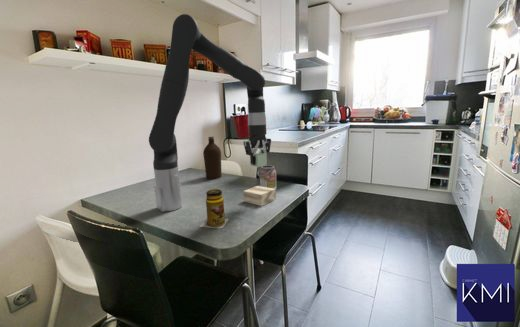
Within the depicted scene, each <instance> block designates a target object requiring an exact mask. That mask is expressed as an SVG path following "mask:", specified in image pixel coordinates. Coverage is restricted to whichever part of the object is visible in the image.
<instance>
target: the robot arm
mask: <svg viewBox="0 0 520 327" xmlns="http://www.w3.org/2000/svg"><path fill="white" fill-rule="evenodd" d="M170 41H171V42H170V47H169V48H170V49H169V53H168V57H167V61H166V64H165V68H164V72H163V77H162V80H161V85H160V90H159V94H158V95H159V97H158V101H157V110H156V115H155V118H154V121H153V125H152V127H151V130H150V133H149V136H148V143H149V146H150V148H151V149H152V150H153V161H152V162H153V163H152V164H153V172H154V180H155V186H154V193H155V204H156V209H157V210H159V211H160V212H162V213H163V212H172V211H175V210H178V209H180V208H182V205H183V204H182V195H181V193H182V192H181V185H180V184H181V183H180V176H179V175H180V174H179V167H178V166H179V164H178V145H177V138H176V137H177V136H176V135H175V128H176V121H177V118H178V115H179V113H180V110H181V109H182V106H183V104H184V101H185V97H186V93H187V91H188V85H189V80H190V78H189V77H190V76H189V75H190V59H191V53H192V51H194V52H196V53H199V54H200V55H202V56H203V57H205V58H206V59H208V60H209V61H210V62H211V63H214V64H215V65H216V66H217V67H218V68H220V69H221V70H223V71H224V72H225V73H226V74H228V75H229V76H231V77H232V78H234V79H235V80H239V81H240V82H241V83H243V84H244V85H245V86H246V93H247V94H246V95H247V114H248V115H247V127H248V128H247V130H248V136H249V139H248V140H247V141H243V146H244V151H245V155H246V156H249V159H250V160H251V164H252V165H256V157H255V155H256V153H257V151H258V150H259V151H260V153H266V154H268V153H270V151H271V144H272V139H271V138H267V137H266V135H267V116H266V102H265V99H264V87H265V85H266V79H265V77H264V75H263V74H262V73H261V72H259V71H258V70H256V69H254V68H253V67H251V66H249V65H248V64H246V63H245V62H244V61H243V60H241V59H240V58H238V57H237V56H236V55H235V54H233V53H232V52H230V51H228V50H226V49H224V48H223V47H221V46H219V45H217V44H215V43H214V42H213V41H211V40H210V39H209V38H208V37H206V36H205V35H204V34H203V33H202V32H201V30H200V27H199V25H198V22H197V20H195V18H194V17H193V16H192V15H190V14H187V13H186V14H185V13H183V14H180V15H178V16H177V17H176V18H175V19H174V21H173V24H172V30H171V40H170ZM250 160H249V161H250Z"/></svg>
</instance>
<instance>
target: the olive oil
mask: <svg viewBox="0 0 520 327" xmlns="http://www.w3.org/2000/svg"><path fill="white" fill-rule="evenodd" d="M202 154H203V159H204V160H203V161H204V168H205V169H204V170H205V178H206V179H207V178H208V179H207V180H217V179H221V178H222V151H221V148H220V147H219V146H218V145H217V144H216V143H215V137H214V136H208V144H207V145H206V146H204V149H203V152H202ZM220 177H221V178H220ZM216 178H217V179H216Z"/></svg>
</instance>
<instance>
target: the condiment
mask: <svg viewBox="0 0 520 327" xmlns="http://www.w3.org/2000/svg"><path fill="white" fill-rule="evenodd" d="M205 193H206V199H205V206H206V218H205V219H204V220H203V222H202V223H201V224H200V225H199V226H198V228H211V229H223V228H224V227H225V226H226V224H227V223H228V220H229V218H225V217H226V216H225V215H226V214H225V204H224V203H225V201H224V198H223V192H222V190H221V189H215V188H214V189H209V190H208V191H206V192H205Z"/></svg>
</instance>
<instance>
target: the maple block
mask: <svg viewBox="0 0 520 327" xmlns="http://www.w3.org/2000/svg"><path fill="white" fill-rule="evenodd" d="M276 193H277V188H276V189H273V188H268V187H263V186H260V185H256V186H253V187H251V188H248V189H245V190H243V202H245V203H249V204H253V205H257V206H260V207H261V206H265V205H267V204H269V203H270V202H273V201H275V200H276V199H277V196H276Z"/></svg>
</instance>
